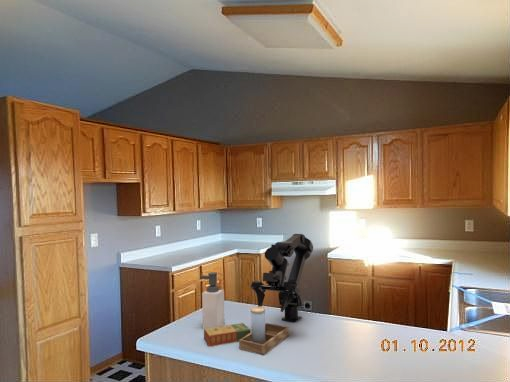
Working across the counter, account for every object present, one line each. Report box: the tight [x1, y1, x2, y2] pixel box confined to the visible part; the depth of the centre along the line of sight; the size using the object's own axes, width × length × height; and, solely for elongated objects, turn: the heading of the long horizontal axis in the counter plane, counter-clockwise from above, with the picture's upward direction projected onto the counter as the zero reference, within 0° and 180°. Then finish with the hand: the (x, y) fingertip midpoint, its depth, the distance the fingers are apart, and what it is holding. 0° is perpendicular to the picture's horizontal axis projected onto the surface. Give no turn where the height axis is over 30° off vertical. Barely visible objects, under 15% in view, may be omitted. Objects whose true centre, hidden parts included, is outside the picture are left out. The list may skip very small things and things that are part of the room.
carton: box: [203, 322, 252, 347], centre depth 139 cm, size 8×16×4 cm, turn 112°
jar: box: [250, 305, 266, 344], centre depth 131 cm, size 5×5×13 cm
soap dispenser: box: [199, 271, 226, 330], centre depth 151 cm, size 6×9×22 cm
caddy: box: [238, 322, 290, 356], centre depth 135 cm, size 19×10×3 cm, turn 149°
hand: (270, 310), depth 138 cm, fingers open, 9 cm apart
